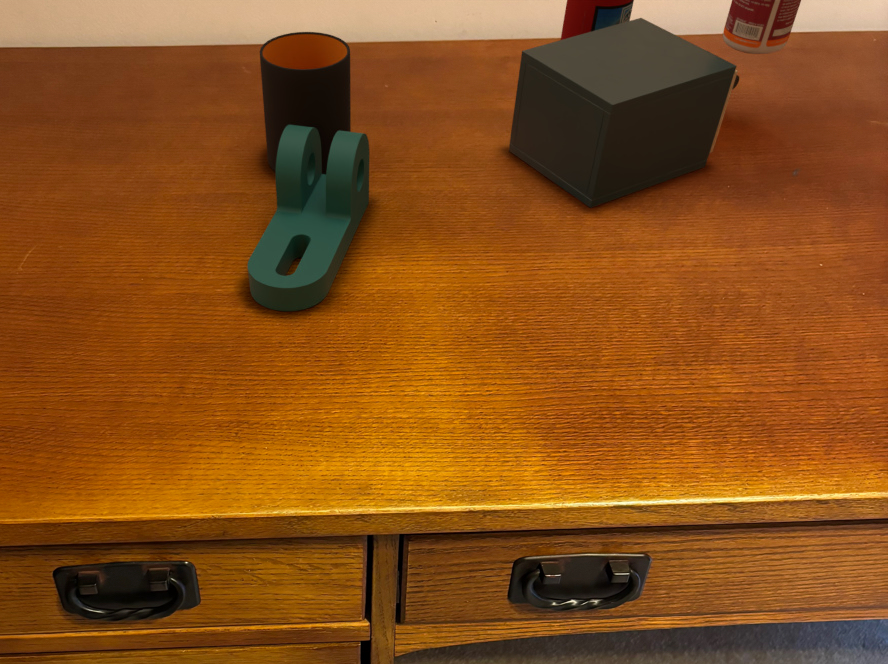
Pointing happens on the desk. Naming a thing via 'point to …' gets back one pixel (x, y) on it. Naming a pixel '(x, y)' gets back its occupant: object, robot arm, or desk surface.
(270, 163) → the mug
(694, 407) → the desk surface
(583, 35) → the dark grey box
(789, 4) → the pill bottle
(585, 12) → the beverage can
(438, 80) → the desk surface
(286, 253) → the bracket
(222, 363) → the desk surface
